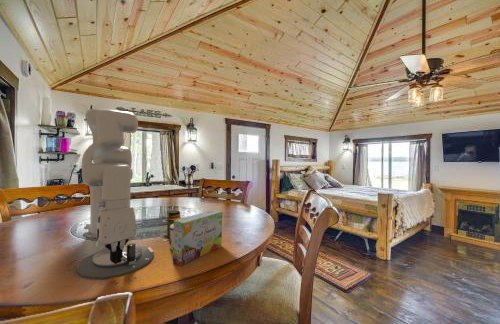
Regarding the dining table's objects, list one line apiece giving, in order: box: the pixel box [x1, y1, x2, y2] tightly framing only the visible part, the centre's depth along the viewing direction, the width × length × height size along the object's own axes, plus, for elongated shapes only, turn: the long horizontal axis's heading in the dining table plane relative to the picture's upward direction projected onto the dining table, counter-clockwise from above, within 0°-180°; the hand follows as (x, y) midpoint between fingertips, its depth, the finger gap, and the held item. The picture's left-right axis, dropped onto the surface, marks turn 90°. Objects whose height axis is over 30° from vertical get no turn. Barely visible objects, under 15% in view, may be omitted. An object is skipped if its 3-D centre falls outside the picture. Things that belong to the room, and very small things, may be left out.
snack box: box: [172, 209, 223, 266], centre depth 84 cm, size 21×6×15 cm, turn 148°
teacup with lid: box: [169, 224, 174, 251], centre depth 89 cm, size 12×9×12 cm
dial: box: [93, 243, 142, 268], centre depth 76 cm, size 18×15×6 cm
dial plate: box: [76, 244, 155, 279], centre depth 77 cm, size 23×23×1 cm
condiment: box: [160, 210, 182, 242], centre depth 101 cm, size 7×8×12 cm
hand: (116, 261), depth 68 cm, fingers closed
